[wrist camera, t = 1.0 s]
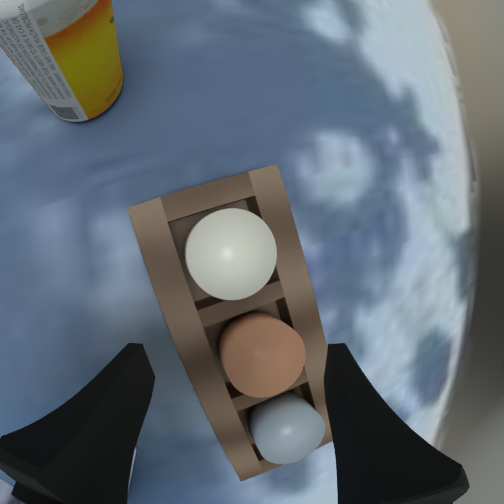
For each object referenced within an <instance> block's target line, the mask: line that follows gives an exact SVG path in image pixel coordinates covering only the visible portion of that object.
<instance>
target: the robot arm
mask: <svg viewBox="0 0 504 504" xmlns="http://www.w3.org/2000/svg"><path fill="white" fill-rule="evenodd" d="M154 381H155V375H154V373H153V370H152V368H151V365H150V363H149V360H148V358H147V355H146V352H145V350H144V347H143V344H137V343H129V344H127V345H126V346H125V347H124V348H123V349H122V350H121V351H120V352H119V353H118V354H117V355H116V357H115V358H114V359H113V360H112V361H111V362H110V363H109V364H108V365H107V366H106V367H105V368H104V369H103V370H102V371H101V372H100V373H99V374H98V375H97V376H96V377H95V378H94V379H92V380H91V381H90V382H89V383H88V384H87V385H86V386H85V387H84V388H83V389H81V390H80V391H79V392H78V393H77V394H76V395H75V396H73V397H72V398H71V399H69V400H68V401H67V402H65V403H64V404H63V405H61V406H60V407H59V408H57V409H56V410H54V411H52V412H51V413H49V414H48V415H46V416H45V417H43V418H41V419H39V420H38V421H36V422H34V423H32V424H30V425H28V426H26V427H24V428H22V429H19V430H17V431H14V432H12V433H9V434H6V435H4V436H1V438H0V469H1V470H2V471H3V472H5V473H6V474H7V475H8V476H10V477H11V478H12V479H13V480H15V481H16V483H15V485H14V486H13V485H12V484H10V483H9V482H7V481H5V480H4V479H2V478H0V504H127V497H128V491H129V485H130V480H131V475H132V470H133V465H134V461H135V456H136V442H137V439H138V436H139V433H140V430H141V427H142V424H143V421H144V418H145V416H146V413H147V410H148V407H149V404H150V401H151V397H152V392H153V387H154ZM324 391H325V402H326V408H327V413H328V418H329V423H330V428H331V433H332V438H333V443H334V449H335V456H336V468H337V488H338V504H453V502H454V501H456V500H457V499H458V498H459V497H461V496H462V495H464V493H466V492H467V491H468V489H469V487H470V486H469V483H468V479H467V476H466V473H465V471H464V469H463V467H462V465H461V464H459V463H457V462H456V461H454V460H452V459H451V458H449V457H447V456H446V455H444V454H443V453H441V452H440V451H438V450H437V449H436V448H434V447H433V446H431V445H430V444H429V443H427V442H426V441H425V440H424V439H423V438H421V437H420V436H419V435H418V434H417V433H415V432H414V431H413V430H412V429H411V428H410V427H409V426H408V425H407V424H406V423H404V422H403V421H402V420H401V419H400V418H399V417H398V415H397V414H396V413H395V412H394V411H393V410H392V409H391V408H390V407H389V406H388V404H387V403H386V402H385V401H384V400H383V398H382V397H381V396H380V395H379V394H378V392H377V391H376V390H375V388H374V387H373V386H372V384H371V383H370V381H369V380H368V379H367V377H366V376H365V374H364V373H363V372H362V370H361V369H360V367H359V365H358V364H357V362H356V361H355V359H354V357H353V356H352V354H351V352H350V351H349V349H348V347H347V345H346V344H345V343H339V344H328V350H327V358H326V365H325V372H324Z"/></svg>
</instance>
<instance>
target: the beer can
mask: <svg viewBox="0 0 504 504" xmlns="http://www.w3.org/2000/svg"><path fill="white" fill-rule="evenodd" d="M0 46H1V47H2V49H3V50H4V51H5V53H6V54H7V55H8V57H9V58H10V59H11V60H12V62H13V63H14V64H15V66H16V67H17V68H18V70H19V71H20V72H21V73H22V75H23V76H24V77H25V78H26V80H27V81H28V82H29V83H30V85H31V86H32V87H33V88H34V90H35V91H36V92H37V93H38V95H39V96H40V97H41V98H42V100H43V101H44V102H45V103H46V104H47V106H48V107H49V108H50V109H51V111H52V112H53V113H54V114H55V115H56V116H57V117H59V118H61V119H63V120H66V121H70V122H80V121H85V120H89V119H91V118H94V117H96V116H98V115H99V114H101V113H103V112H104V111H105V110H106V109H108V108H109V107H110V106H111V105H112V104H113V102H114V101H115V100H116V98H117V97H118V95H119V93H120V91H121V88H122V84H123V72H122V67H121V61H120V55H119V49H118V43H117V37H116V30H115V24H114V17H113V9H112V1H111V0H0Z"/></svg>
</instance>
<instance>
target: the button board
mask: <svg viewBox="0 0 504 504" xmlns="http://www.w3.org/2000/svg"><path fill="white" fill-rule="evenodd" d="M229 208H237V209H243V210H246V211H249V212H251V213H253V214H255V215H257V216H258V217H259V218H261V219H262V220H263V221H264V222H265V223H266V224H267V226H268V227H269V229H270V230H271V232H272V234H273V236H274V239H275V243H276V248H277V259H276V265H275V268H274V271H273V273H272V275H271V277H270V279H269V280H268V282H267V283H266V284H265V285H264V286H263V287H262V288H261V289H260V290H259V291H258V292H256V293H255V294H253V295H251V296H249V297H247V298H243V299H239V300H223V299H219V298H216V297H214V296H212V295H210V294H208V293H207V292H205V291H204V290H203V289H202V288H201V287H200V286H199V285H198V284H197V283H196V282H195V280H194V279H193V277H192V276H191V275H190V273H189V271H188V269H187V267H186V264H185V261H184V243H185V240H186V237H187V235H188V233H189V231H190V229H191V228H192V227H193V225H194V224H195V223H196V222H197V221H198V220H200V219H201V218H203V217H204V216H206V215H209V214H211V213H214V212H216V211H219V210H223V209H229ZM128 211H129V214H130V217H131V221H132V224H133V228H134V231H135V234H136V237H137V241H138V244H139V247H140V250H141V253H142V256H143V259H144V262H145V265H146V268H147V271H148V274H149V277H150V280H151V283H152V285H153V288H154V291H155V294H156V297H157V299H158V302H159V305H160V307H161V310H162V313H163V315H164V318H165V321H166V323H167V326H168V328H169V331H170V333H171V336H172V338H173V341H174V343H175V346H176V348H177V351H178V353H179V355H180V358H181V360H182V363H183V365H184V367H185V370H186V372H187V374H188V376H189V379H190V381H191V383H192V385H193V388H194V390H195V392H196V394H197V396H198V399H199V401H200V403H201V405H202V407H203V409H204V411H205V413H206V415H207V418H208V420H209V422H210V424H211V426H212V428H213V430H214V432H215V434H216V436H217V438H218V440H219V442H220V444H221V445H222V447H223V449H224V451H225V453H226V455H227V457H228V459H229V461H230V462H231V464H232V466H233V468H234V470H235V472H236V473H237V475H238V477H239V479H240V481H244V480H246V479H249V478H252V477H254V476H257V475H259V474H262V473H264V472H267V471H269V470H272V469H274V468H276V467H279V466H281V465H283V464H275V463H272V462H269V461H267V460H266V459H265V458H264V457H263V456H262V455H261V453H260V451H259V449H258V448H257V446H256V444H255V442H254V440H253V438H252V436H251V434H250V432H249V429H248V421H249V417H250V415H251V413H252V411H253V410H254V408H255V407H256V406H257V405H258V404H259V403H260V402H262V401H265V400H267V399H269V398H272V397H274V396H276V395H274V396H270V397H264V398H257V397H251V396H248V395H245V394H243V393H241V392H240V391H239V390H237V389H236V388H235V387H234V386H233V384H232V383H231V381H230V379H229V377H228V376H227V374H226V372H225V370H224V368H223V366H222V364H221V362H220V359H219V355H218V343H219V339H220V336H221V334H222V332H223V330H224V329H225V328H226V326H227V325H228V324H229V323H230V322H231V321H232V320H234V319H235V318H237V317H238V316H240V315H242V314H245V313H248V312H255V311H259V312H266V313H269V314H272V315H274V316H275V317H277V318H278V319H280V320H281V321H283V322H284V323H285V324H287V325H288V326H290V327H291V328H293V329H294V330H295V331H296V332H297V333H298V334H299V335H300V337H301V338H302V340H303V343H304V346H305V352H306V357H305V364H304V367H303V370H302V372H301V374H300V375H299V377H298V378H297V380H296V381H295V382H294V383H293V384H292V385H291V386H290V387H289V388H287V389H286V390H284V391H283V392H290V393H295V394H298V395H300V396H302V397H303V398H304V399H305V400H306V401H307V402H308V403H309V404H310V405H311V406H312V407H313V408H314V409H315V410H316V411H317V412H318V414H319V415H320V416H321V417H322V418H323V420H324V423H325V433H324V437H323V439H322V441H321V442H320V444H319V445H318V447H317V448H319V447H321V446H323V445H325V444H327V443H329V442H331V441H333V438H332V433H331V428H330V423H329V418H328V413H327V408H326V402H325V391H324V372H325V365H326V358H327V350H328V349H327V345H326V341H325V337H324V333H323V328H322V324H321V320H320V316H319V312H318V308H317V304H316V300H315V296H314V292H313V289H312V285H311V281H310V277H309V273H308V269H307V266H306V262H305V258H304V255H303V251H302V247H301V244H300V240H299V236H298V233H297V229H296V226H295V222H294V219H293V215H292V212H291V208H290V205H289V201H288V198H287V195H286V191H285V188H284V185H283V181H282V178H281V175H280V171H279V168H278V165H277V164H276V165H272V166H268V167H264V168H260V169H256V170H252V171H248V172H245V173H241V174H237V175H233V176H230V177H226V178H222V179H219V180H215V181H212V182H208V183H205V184H201V185H198V186H194V187H191V188H188V189H184V190H181V191H178V192H175V193H171V194H168V195H165V196H162V197H159V198H155V199H152V200H149V201H146V202H143V203H140V204H137V205H134V206H131V207H128ZM283 392H281V393H283ZM281 393H279V394H281ZM279 394H277V395H279ZM317 448H316V449H317Z"/></svg>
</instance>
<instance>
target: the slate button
mask: <svg viewBox="0 0 504 504" xmlns="http://www.w3.org/2000/svg"><path fill="white" fill-rule="evenodd" d="M248 429H249V432H250V434H251V436H252V438H253V440H254V442H255V444H256V446H257V448H258V449H259V451H260V453H261V455H262V456H263V457H264V458H265V459H266V460H267V461H269V462H272V463H275V464H289V463H293V462H296V461H299V460H301V459H303V458H305V457H306V456H308V455H309V454H310V453H312V452H313V451H314V450H315V449H316V448H317V447H318V445H319V444H320V442H321V441H322V439H323V437H324V433H325V423H324V420H323V418H322V417H321V416H320V415H319V414H318V412H317V411H316V410H315V409H314V408H313V407H312V406H311V405H310V404H309V403H308V402H307V401H306V400H305V399H304V398H303V397H302V396H300V395H298V394H295V393H290V392H283V393H281V394H279V395H276V396H274V397H272V398H269V399H267V400H265V401H262V402H260V403H259V404H258V405H257V406H256V407H255V408H254V410H253V411H252V413H251V415H250V417H249V421H248Z"/></svg>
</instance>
